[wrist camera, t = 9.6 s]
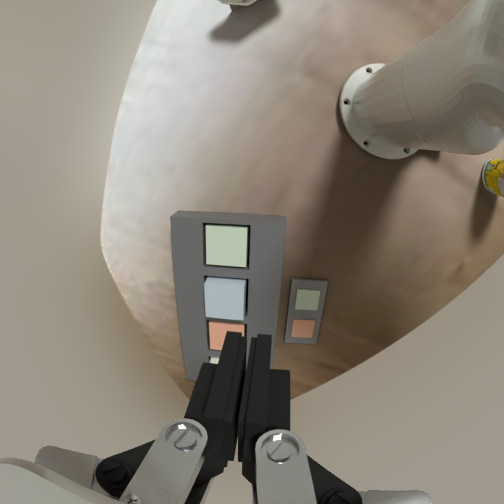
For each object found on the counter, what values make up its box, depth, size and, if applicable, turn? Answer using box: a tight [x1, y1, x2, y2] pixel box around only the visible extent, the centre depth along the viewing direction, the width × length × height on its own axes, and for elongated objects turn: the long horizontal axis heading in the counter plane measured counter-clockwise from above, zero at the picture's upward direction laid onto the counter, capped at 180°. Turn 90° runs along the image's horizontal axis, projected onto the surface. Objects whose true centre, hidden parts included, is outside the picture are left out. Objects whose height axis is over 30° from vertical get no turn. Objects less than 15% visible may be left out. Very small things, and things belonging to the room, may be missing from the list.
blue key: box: [204, 276, 246, 321], centre depth 37 cm, size 5×5×3 cm
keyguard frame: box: [170, 211, 286, 381], centre depth 40 cm, size 14×28×3 cm, turn 178°
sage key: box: [206, 223, 249, 267], centre depth 36 cm, size 5×5×3 cm
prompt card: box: [284, 278, 328, 344], centre depth 40 cm, size 5×11×1 cm, turn 177°
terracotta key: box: [209, 321, 246, 350], centre depth 41 cm, size 5×5×3 cm
